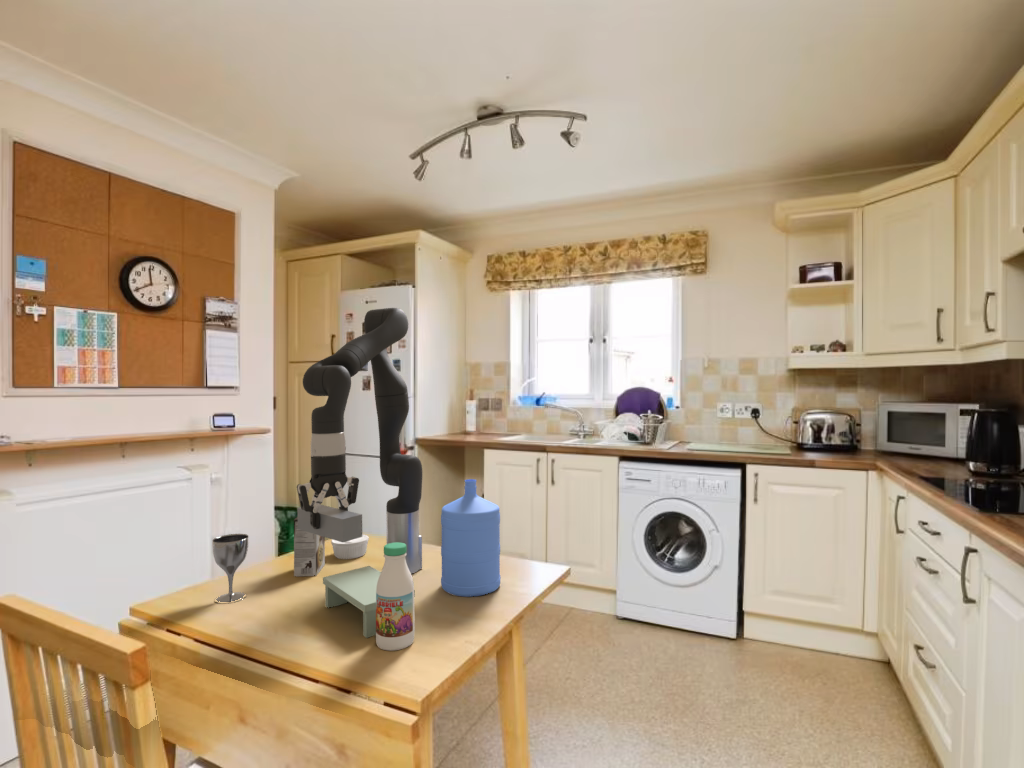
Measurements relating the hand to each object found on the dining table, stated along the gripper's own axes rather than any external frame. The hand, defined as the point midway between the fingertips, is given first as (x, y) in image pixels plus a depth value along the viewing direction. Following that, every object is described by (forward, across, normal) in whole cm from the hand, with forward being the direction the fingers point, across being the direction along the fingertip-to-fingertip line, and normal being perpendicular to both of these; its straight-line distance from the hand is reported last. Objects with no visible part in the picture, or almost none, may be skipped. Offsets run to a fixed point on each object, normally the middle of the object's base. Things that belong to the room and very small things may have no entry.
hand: (329, 525), depth 118 cm
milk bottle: (+21, -5, +21) cm, 30 cm away
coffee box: (+21, -7, -34) cm, 41 cm away
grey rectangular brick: (+2, 0, 0) cm, 2 cm away
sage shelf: (+21, -7, +4) cm, 23 cm away
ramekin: (+22, -22, -40) cm, 51 cm away
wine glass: (+21, +15, -27) cm, 37 cm away
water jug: (+22, -35, +7) cm, 42 cm away
